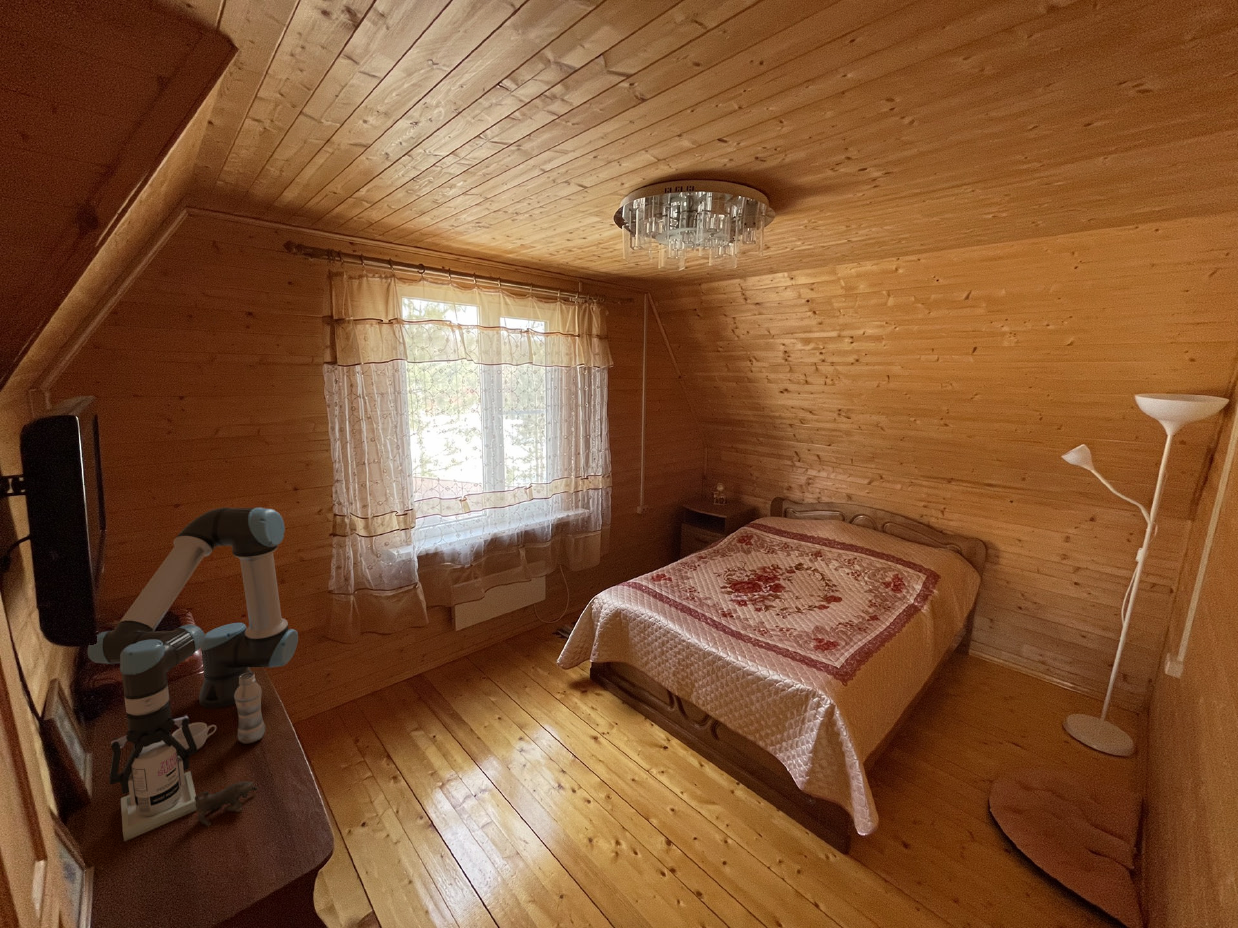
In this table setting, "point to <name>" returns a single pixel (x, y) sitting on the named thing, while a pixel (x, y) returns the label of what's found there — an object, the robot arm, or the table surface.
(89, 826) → the table surface
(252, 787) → the dog figurine
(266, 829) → the table surface
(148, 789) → the supplement can
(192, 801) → the can tray
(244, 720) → the plastic bottle
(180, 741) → the teacup
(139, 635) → the robot arm
